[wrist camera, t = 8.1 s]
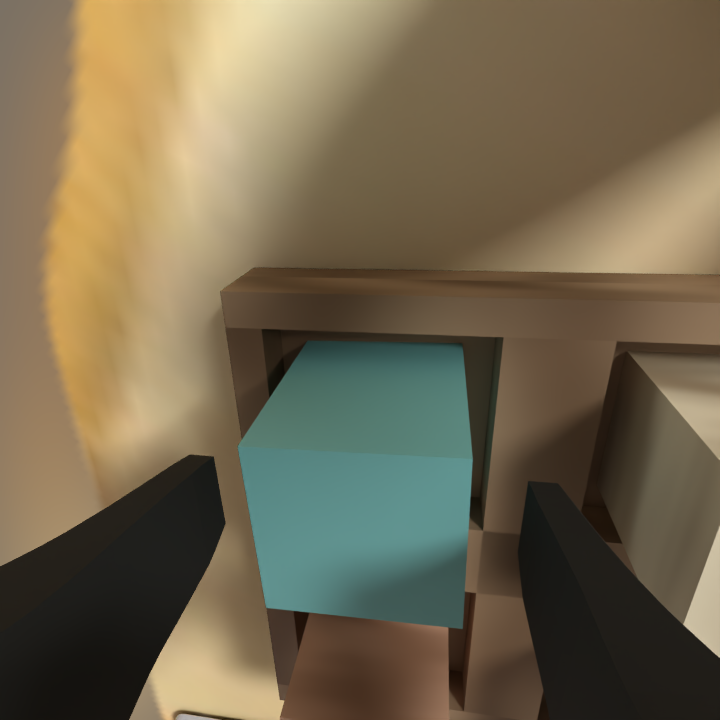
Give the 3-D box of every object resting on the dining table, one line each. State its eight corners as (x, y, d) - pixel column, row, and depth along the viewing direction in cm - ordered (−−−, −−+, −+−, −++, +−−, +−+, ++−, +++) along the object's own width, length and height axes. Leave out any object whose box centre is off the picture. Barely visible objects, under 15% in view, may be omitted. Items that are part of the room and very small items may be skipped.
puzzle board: (296, 641, 22) (243, 825, 16) (253, 267, 15) (131, 353, 9) (711, 697, 19) (827, 939, 14) (896, 278, 12) (1304, 405, 6)
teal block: (319, 465, 16) (266, 607, 11) (307, 340, 15) (237, 446, 10) (456, 473, 16) (462, 628, 11) (462, 342, 14) (472, 459, 9)
